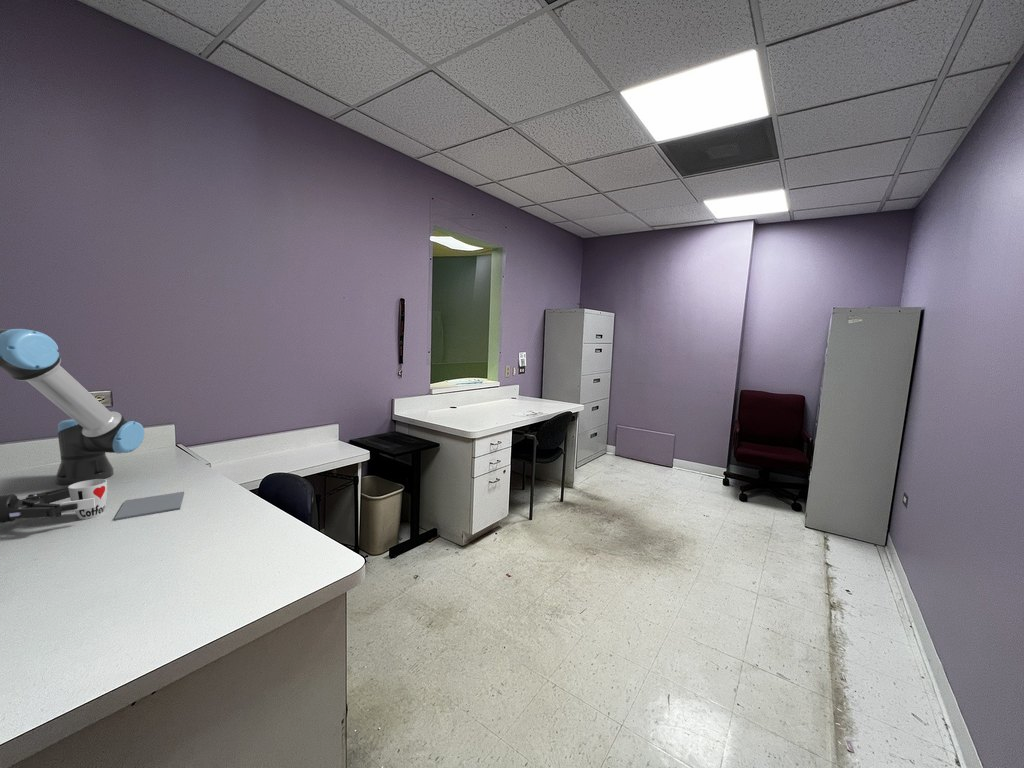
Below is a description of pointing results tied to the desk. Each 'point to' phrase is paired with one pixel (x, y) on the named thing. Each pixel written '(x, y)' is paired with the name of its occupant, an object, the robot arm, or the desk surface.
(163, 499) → the mat
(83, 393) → the robot arm
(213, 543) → the desk surface
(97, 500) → the cup
